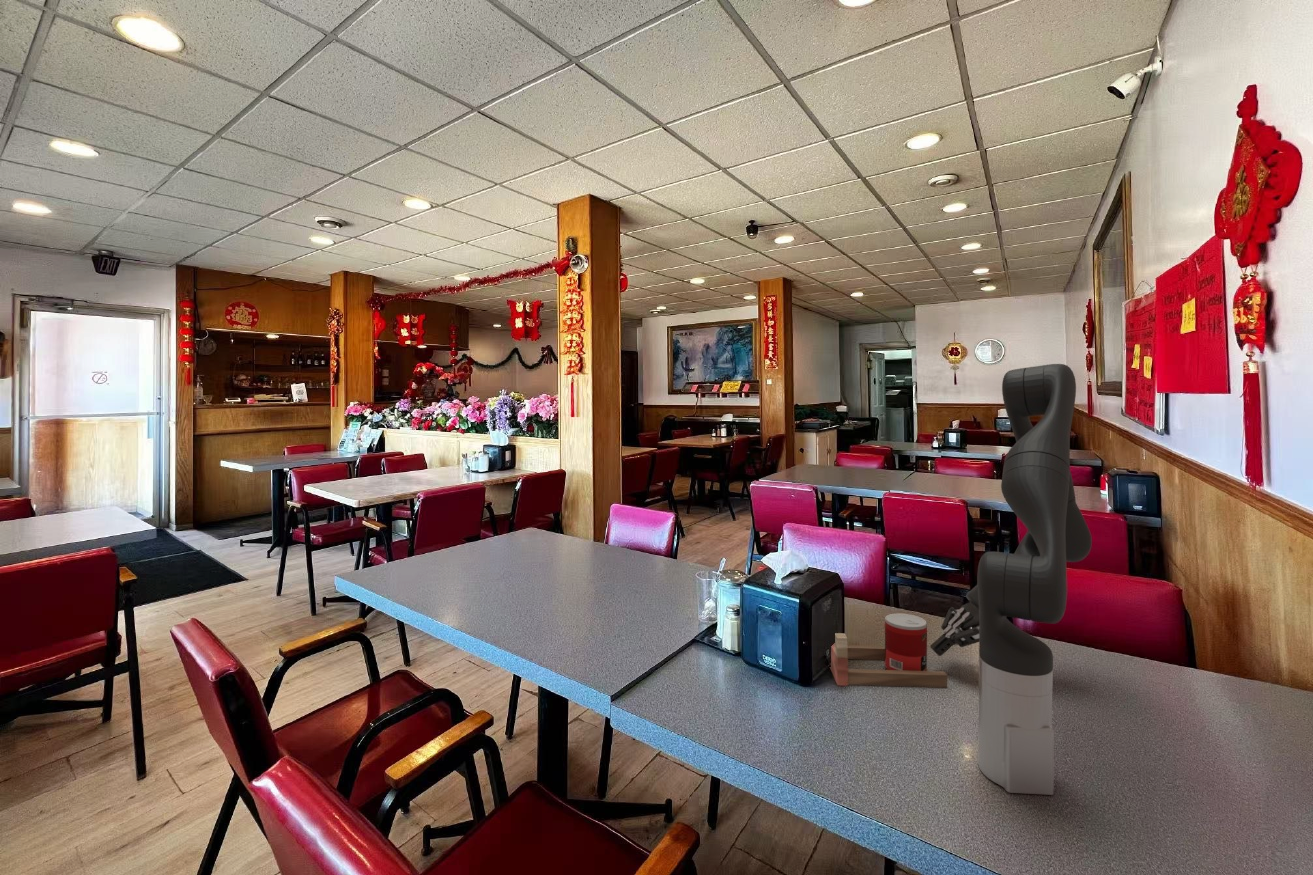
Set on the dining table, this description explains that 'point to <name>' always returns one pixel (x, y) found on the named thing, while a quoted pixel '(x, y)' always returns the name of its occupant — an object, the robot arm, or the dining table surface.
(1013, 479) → the robot arm
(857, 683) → the rail
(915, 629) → the canned food
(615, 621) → the dining table surface
